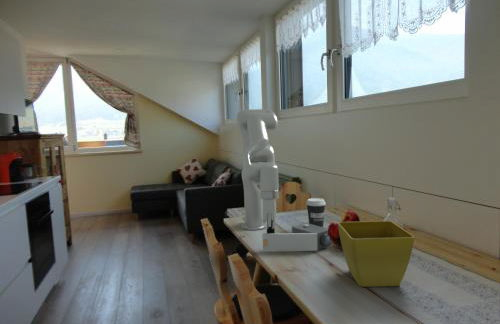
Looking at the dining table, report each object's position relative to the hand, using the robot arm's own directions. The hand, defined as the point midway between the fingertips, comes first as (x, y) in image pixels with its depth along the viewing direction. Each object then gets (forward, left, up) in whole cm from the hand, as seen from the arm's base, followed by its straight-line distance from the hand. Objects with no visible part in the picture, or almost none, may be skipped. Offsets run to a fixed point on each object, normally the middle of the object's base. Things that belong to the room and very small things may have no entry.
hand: (270, 237), depth 140 cm
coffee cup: (-5, +34, -5) cm, 35 cm away
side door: (+7, +4, -5) cm, 9 cm away
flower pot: (+43, +7, -5) cm, 44 cm away
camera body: (+7, +17, -5) cm, 19 cm away
